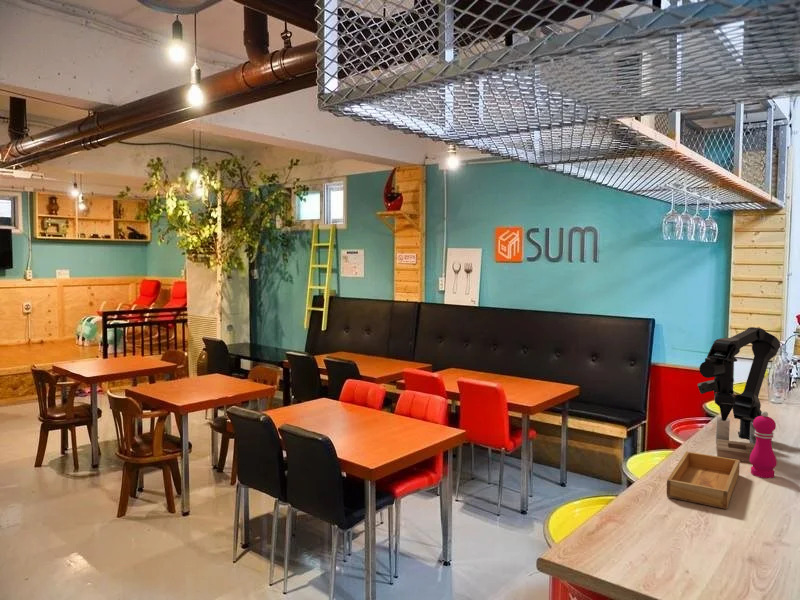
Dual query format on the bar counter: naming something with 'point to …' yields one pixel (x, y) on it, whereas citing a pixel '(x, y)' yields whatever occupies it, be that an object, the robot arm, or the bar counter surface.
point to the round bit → (752, 433)
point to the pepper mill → (763, 447)
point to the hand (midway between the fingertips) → (723, 417)
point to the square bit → (722, 429)
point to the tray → (704, 479)
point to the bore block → (734, 450)
